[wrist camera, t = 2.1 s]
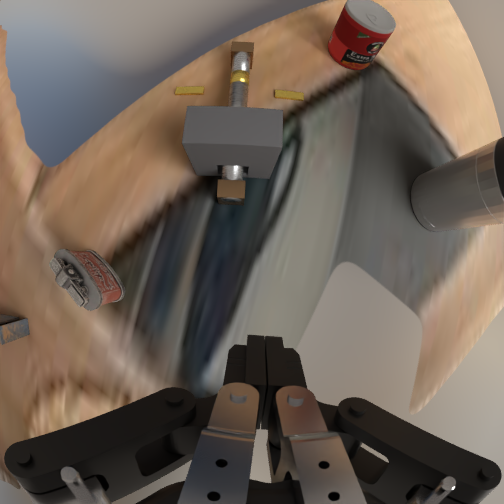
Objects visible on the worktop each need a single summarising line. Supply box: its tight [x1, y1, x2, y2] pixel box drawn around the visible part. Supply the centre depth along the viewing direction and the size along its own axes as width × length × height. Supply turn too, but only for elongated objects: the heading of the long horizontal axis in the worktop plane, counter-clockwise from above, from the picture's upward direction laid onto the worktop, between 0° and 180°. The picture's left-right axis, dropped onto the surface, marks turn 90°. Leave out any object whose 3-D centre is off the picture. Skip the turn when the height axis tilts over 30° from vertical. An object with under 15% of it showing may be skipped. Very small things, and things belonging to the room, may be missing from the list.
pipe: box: [175, 42, 304, 205], centre depth 33 cm, size 23×18×4 cm
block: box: [182, 106, 283, 179], centre depth 29 cm, size 4×9×11 cm, turn 87°
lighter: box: [49, 249, 125, 311], centre depth 29 cm, size 8×3×10 cm, turn 44°
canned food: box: [328, 0, 396, 70], centre depth 31 cm, size 8×8×11 cm
